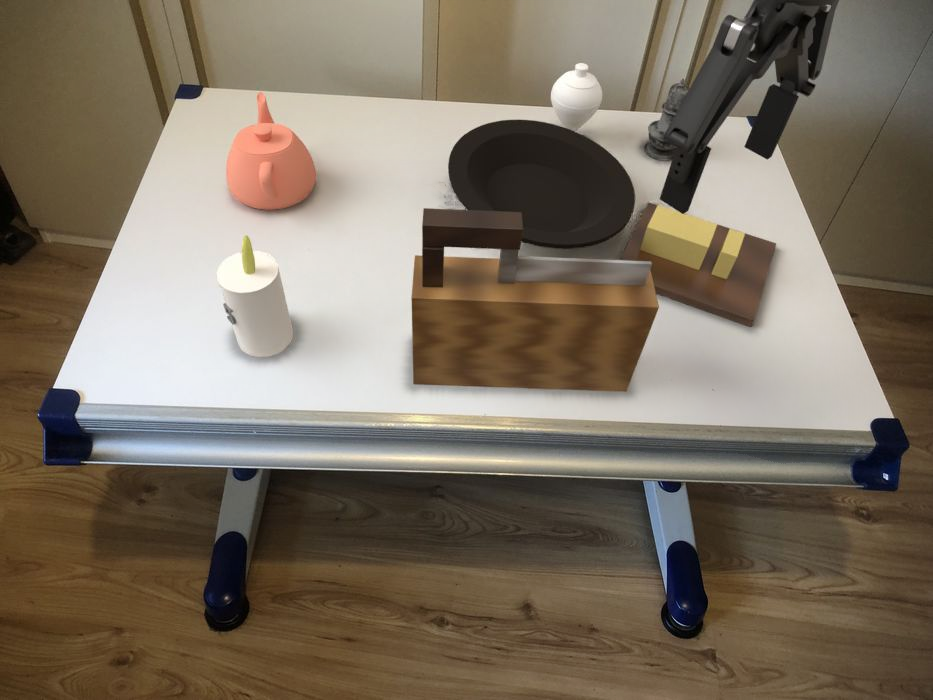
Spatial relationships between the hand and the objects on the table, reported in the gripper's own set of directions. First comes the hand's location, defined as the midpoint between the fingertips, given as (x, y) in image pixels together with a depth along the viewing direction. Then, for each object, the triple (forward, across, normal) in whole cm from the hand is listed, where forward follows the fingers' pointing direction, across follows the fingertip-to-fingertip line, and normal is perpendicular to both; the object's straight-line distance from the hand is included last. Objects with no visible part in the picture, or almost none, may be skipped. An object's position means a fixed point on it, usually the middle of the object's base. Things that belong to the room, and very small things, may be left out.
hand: (717, 177), depth 65 cm
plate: (+23, -5, -26) cm, 35 cm away
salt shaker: (+23, -31, -24) cm, 45 cm away
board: (+23, -14, -5) cm, 27 cm away
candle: (+23, +36, -29) cm, 52 cm away
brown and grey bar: (+9, +16, -7) cm, 20 cm away
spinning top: (+23, -22, -35) cm, 47 cm away
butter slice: (+22, -16, -2) cm, 27 cm away
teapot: (+23, +20, -53) cm, 61 cm away
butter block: (+22, -13, -8) cm, 26 cm away
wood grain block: (+23, +16, -7) cm, 29 cm away
